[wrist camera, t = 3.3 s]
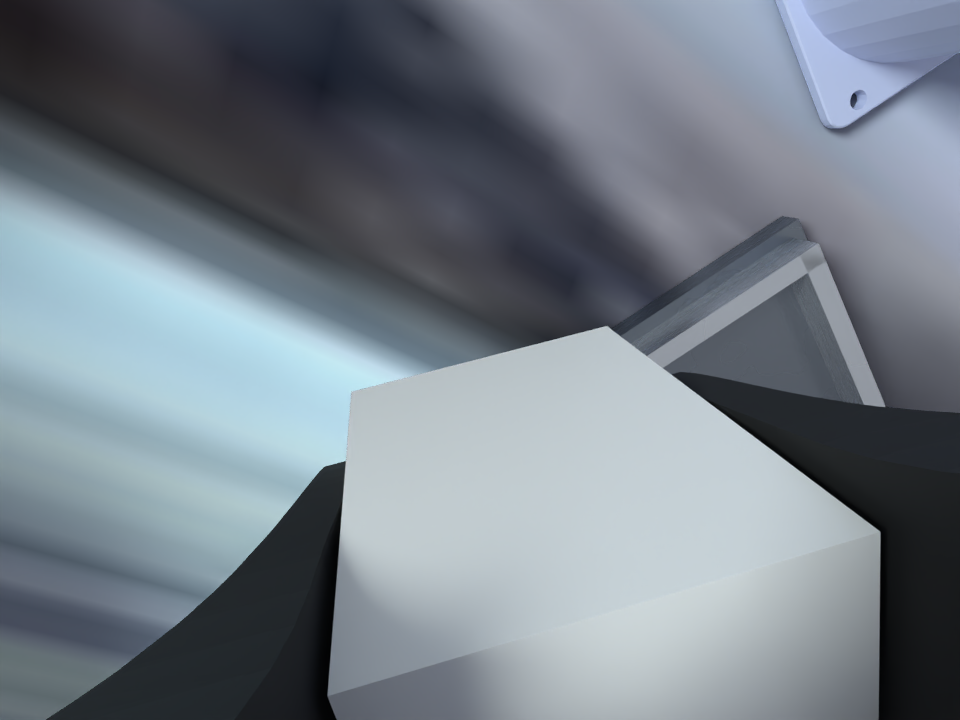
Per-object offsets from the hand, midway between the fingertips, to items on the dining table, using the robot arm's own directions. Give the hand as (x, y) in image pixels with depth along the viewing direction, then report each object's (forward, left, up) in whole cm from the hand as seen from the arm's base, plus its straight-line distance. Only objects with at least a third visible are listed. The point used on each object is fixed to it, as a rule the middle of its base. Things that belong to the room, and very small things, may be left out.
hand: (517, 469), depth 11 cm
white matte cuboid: (0, 0, -2) cm, 2 cm away
